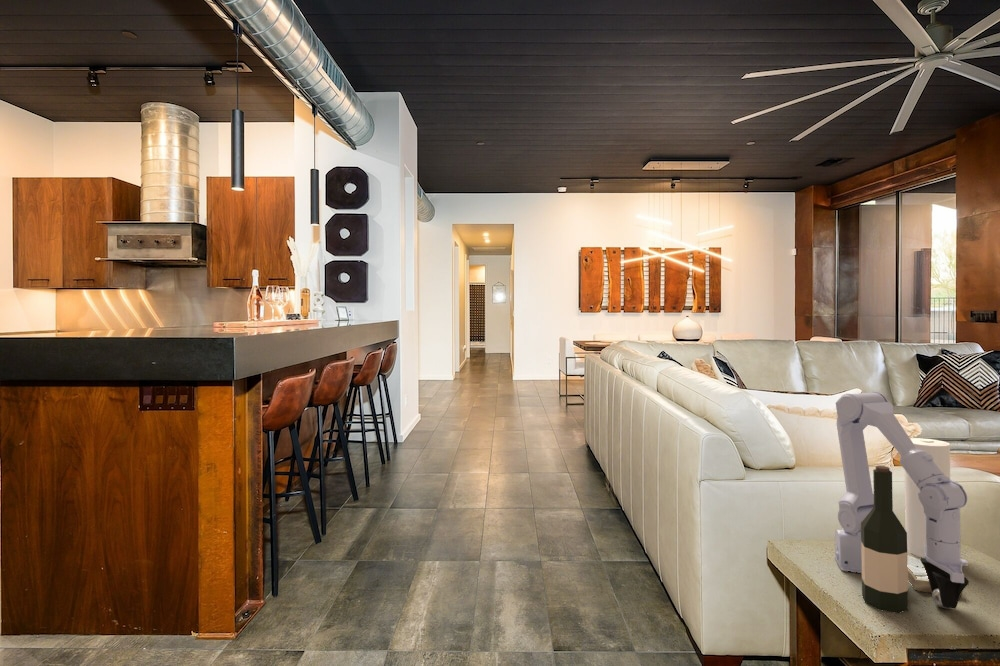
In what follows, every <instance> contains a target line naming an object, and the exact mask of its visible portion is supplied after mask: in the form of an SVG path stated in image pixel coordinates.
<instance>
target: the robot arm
mask: <svg viewBox="0 0 1000 666" xmlns="http://www.w3.org/2000/svg"><path fill="white" fill-rule="evenodd" d="M835 407H836V413H837V414H836V415H837V417H836V429H837V436H838V443H839V449H840V450H839V451H840V456H841V462H842V470H843V476H844V482H845V488H846V493H845V494H844V495H843V496H842V497H841V499H839V501H838V507H839V508H838V512H837V520H838V523H839V525H840V526H841V528H842V529H835V533H834V551H835V552H834V555H835V556H834V559H835V561H836V563H837V565H838V567H839V569H840V570H841V571H842V572H848V571H851V572H850V573H856V572H857V573H859V574H862V553H861V522H862V521H863V520H864V519H865V517H866V516H867V515H868V514H869V512H870V511H871V510H872V509H873V508H874V491H873V486H872V485H873V484H872V481H871V480H872V479H871V473H870V467H869V461H868V456H867V454H868V453H867V448H866V442H865V436H864V435H865V434H864V430H865V429H866V428H867V427H868V426H872V427H874V428H877V429H878V430H879V432H880V433H881V434H882V435H883V436H884V437H885V438H886V439H887V441H888V442H889V443H890V444H891V445H892V447H893V448H894V449H895V450H896V451H897V452H898V454H899V455H900V458H899V459H900V460H899V464H900V465H901V467H902V468H903V469H904V472H905V471H906V472H907V473H908V475H909V476H910V477H911V479H912V480H913V481H914V483H915V484H916V486H917V487H918V488H919V490H920V491H921V492H920V493H918V497H919V500H920V502H921V503H922V505H923V507H924V513H925V515H926V545H925V558H921V557H920V562H921V564H922V566H923V567H924V568H925V570H926V573H927V576H928V579H929V583H930V587H931V590H932V592H933V591H934V590H935V589H937V588H939V591H940V598H941V602H942V605H943V607H946V608H949V609H954V610H956V608H958V607H957V606H958V603H959V600H960V597H961V594H962V593H963V591H964V589H966V587H967V586H968V585H969V583H970V580H969V579H968V578H967V577H966V576H965V573H963V566H966V567H968V565H969V562H968V561H967V560H966V559H964V558H962V557H961V555H962V554H961V551H962V550H961V549H962V548H961V546H962V545H961V541H962V540H961V536H962V535H961V508H964V507H965V506H966V505H967V503H968V495H967V493H966V491H965V489H964V487H963V485H962V484H960V483H959V482H958V481H957V482H956V481H954V480H953V479H952V478H951V477H950V478H949V477H947V476H945V475H944V474H943V472H942V471H941V470H940V468H939V467H938V466H937V465H936V463H935V462H934V461H933V460H934V459H933V457H932V456H931V455H930V454H928V453H927V452H926V451H923V450H919V449H917V448H916V447H915V445H914V444H913V442H912V441H911V439H910V438H911V437H910V436H909V435H908V433H907V432H906V430H905V429H904V427H903V426H902V424H901V423H900V422H899V420H898V419H897V417H896V416H895V413H894V405H893V404H892V403H891V402H890V401H889V399H888V397H887V396H886V395H885V394H883V393H882V392H880V391H872V392H861V393H859V392H858V393H845V394H842V395H841V397H839V398H838V399H837V401H836V402H835ZM946 608H945V609H946Z"/></svg>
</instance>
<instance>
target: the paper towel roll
mask: <svg viewBox="0 0 1000 666" xmlns="http://www.w3.org/2000/svg"><path fill="white" fill-rule="evenodd" d="M909 438H910V439H911V441H912V442H913V444H914V445H915V447H916V448H917V449H919V450H923V451H926V452H927V453H928V454H930V455H931V456H932V457H933V459H934V460H933V461H934V462H935V463H936V465H937V466H938V467H939V468H940V470H941V471H942V472H943V474H944V475H945V476H947V477H949V478H950V479H951V444H950V442H947V441H943V440H938V439H932V438H921V437H920V438H919V437H917V438H916V437H914V438H911V437H909ZM920 492H921V491H920V490H919V488H918V487H917V486H916V484H915V483H914V481H913V480H912V479H911V477H910V476H909V475H908V473H907V472H906V471H905V470H904V514H905V515H904V517H905V518H904V525H905V526H904V527H905V528H904V529H905V530H906V532H907V553H909V554H911V555H913V556H915V557H918V558H921V557H922V558H925V545H926V515H925V513H924V507H923V505H922V503H921V502H920V500H919V497H918V493H920Z"/></svg>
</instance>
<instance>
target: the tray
mask: <svg viewBox="0 0 1000 666" xmlns="http://www.w3.org/2000/svg"><path fill="white" fill-rule="evenodd" d="M922 568H924V566H923V567H922ZM908 580H909V582H910V583H911V584H912V586H913V587H914V588H913V587H912V586H911V587H912V588H913V590H914V591H915V590H917V591H916V592H920V591H925V592H924V593H928V592H931V593H930V594H932V590H931V587H930V583H929V580H923V579H917V577H916V576H915V575H914V574H913V572H912V571H911V570H910V569H909V568H908ZM909 582H908V583H909ZM910 583H909V584H910ZM911 584H910V585H911Z"/></svg>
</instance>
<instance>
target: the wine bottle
mask: <svg viewBox="0 0 1000 666" xmlns="http://www.w3.org/2000/svg"><path fill="white" fill-rule="evenodd" d="M872 471H873V472H872V474H873V476H872V478H873V482H872V483H873V494H874V508H873V509H872V510H871V511H870V512H869V514H868V515H867V516H866V517H865V519H864V520H863V521H862V522H861V553H862V573H861V596H863V597H862V599H863V601H865V602H864V603H865V604H866V605H868V606H871V607H873V608H875V609H876V610H878V609H879V611H881V610H883V612H887V613H893V612H895V613H894V614H900V612H901V613H903V612H902V611H904V612H906V611H905V610H907V611H909V584H908V583H909V582H908V567H907V565H908V551H907V532H906V530H905V528H904V527H905V526H903V525H902V523H901V521H900V520H899V518H898V516H897V515H896V514H895V511H894V509H893V506H894V505H893V502H894V501H893V472H892V471H891V469H890V467H889V466H885V465H876V466H875V469H873V470H872Z"/></svg>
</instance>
